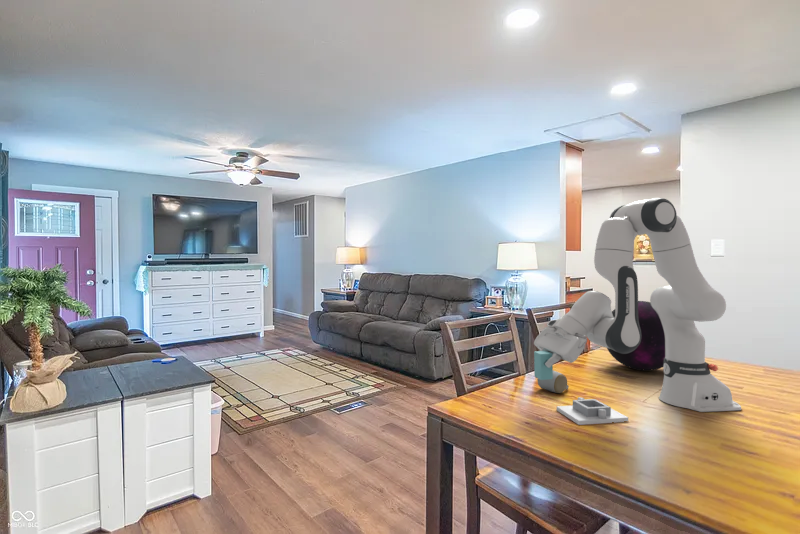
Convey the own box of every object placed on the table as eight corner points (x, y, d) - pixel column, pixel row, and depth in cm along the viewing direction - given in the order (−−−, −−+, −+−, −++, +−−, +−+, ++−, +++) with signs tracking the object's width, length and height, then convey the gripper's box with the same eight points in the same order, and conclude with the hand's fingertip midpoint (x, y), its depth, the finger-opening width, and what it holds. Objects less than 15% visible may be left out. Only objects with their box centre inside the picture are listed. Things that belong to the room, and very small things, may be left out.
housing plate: (601, 407, 135) (601, 395, 135) (628, 421, 122) (629, 409, 122) (556, 409, 132) (556, 398, 132) (579, 425, 120) (579, 412, 120)
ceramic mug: (555, 395, 146) (555, 374, 146) (536, 389, 153) (537, 368, 153) (574, 391, 152) (574, 370, 151) (555, 385, 158) (556, 365, 158)
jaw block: (546, 375, 133) (545, 350, 133) (552, 379, 129) (552, 353, 129) (534, 376, 133) (534, 351, 132) (540, 379, 129) (540, 354, 129)
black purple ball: (699, 379, 167) (700, 304, 166) (624, 378, 167) (625, 304, 167) (654, 361, 197) (655, 298, 196) (590, 360, 197) (591, 297, 197)
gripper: (596, 344, 122) (566, 379, 121) (558, 332, 143) (532, 362, 141) (582, 330, 122) (552, 365, 120) (546, 320, 142) (520, 350, 140)
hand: (541, 363), depth 131 cm, fingers closed on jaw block, 4 cm apart
